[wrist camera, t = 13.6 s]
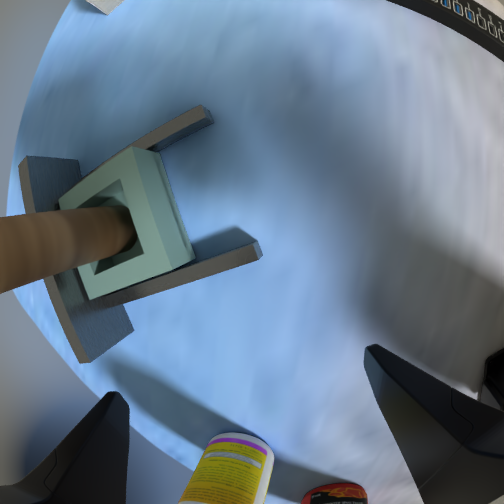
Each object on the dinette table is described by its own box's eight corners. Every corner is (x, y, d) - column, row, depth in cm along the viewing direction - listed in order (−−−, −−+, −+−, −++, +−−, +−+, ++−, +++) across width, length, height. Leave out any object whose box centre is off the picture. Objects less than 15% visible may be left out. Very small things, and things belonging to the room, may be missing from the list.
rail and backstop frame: (198, 81, 17) (157, 46, 11) (276, 293, 19) (260, 332, 13) (68, 167, 21) (18, 165, 15) (122, 333, 22) (79, 363, 16)
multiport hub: (372, -29, 12) (375, -44, 10) (508, 40, 10) (518, 31, 8) (368, -3, 13) (371, -19, 11) (512, 71, 11) (525, 63, 9)
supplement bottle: (199, 429, 23) (140, 528, 10) (264, 427, 21) (225, 550, 9) (223, 468, 23) (183, 557, 11) (282, 467, 22) (257, 570, 9)
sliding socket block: (159, 153, 18) (131, 146, 15) (195, 258, 19) (172, 269, 16) (87, 198, 20) (58, 199, 17) (117, 287, 21) (89, 299, 18)
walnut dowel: (129, 197, 18) (-41, 210, 6) (144, 242, 19) (-23, 296, 6) (98, 216, 19) (-52, 242, 7) (112, 258, 20) (-36, 311, 7)
